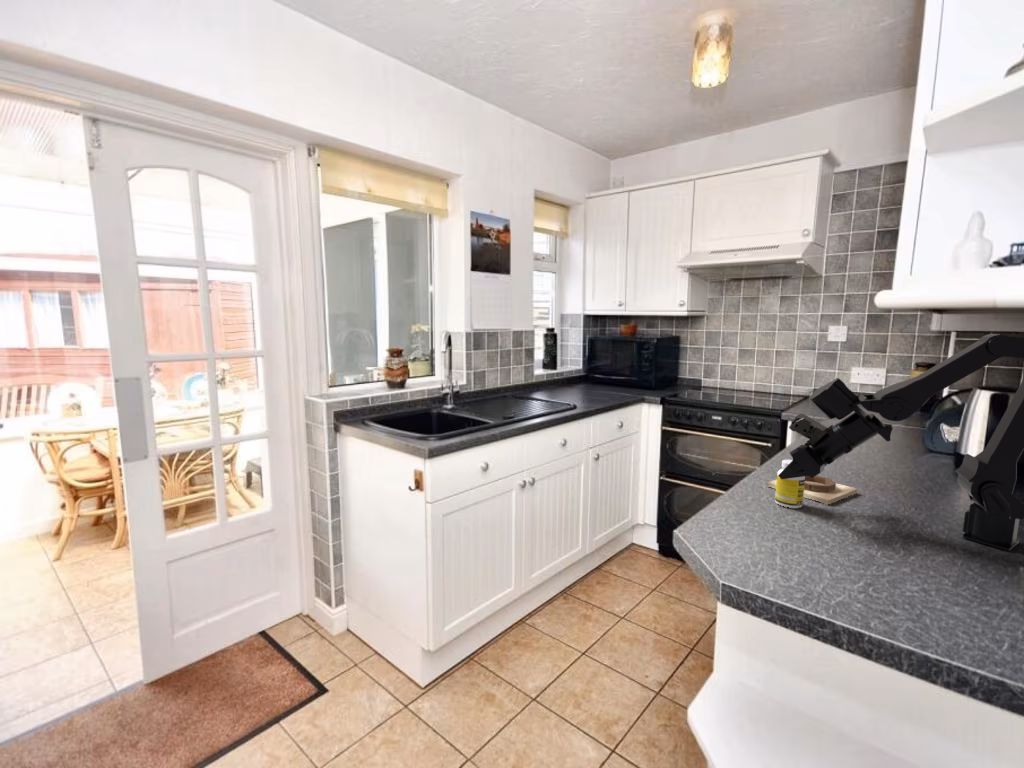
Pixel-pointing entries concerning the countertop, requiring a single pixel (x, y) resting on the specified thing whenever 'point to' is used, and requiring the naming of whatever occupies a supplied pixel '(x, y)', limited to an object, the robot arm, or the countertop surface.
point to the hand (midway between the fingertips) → (783, 474)
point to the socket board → (824, 496)
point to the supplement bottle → (789, 489)
